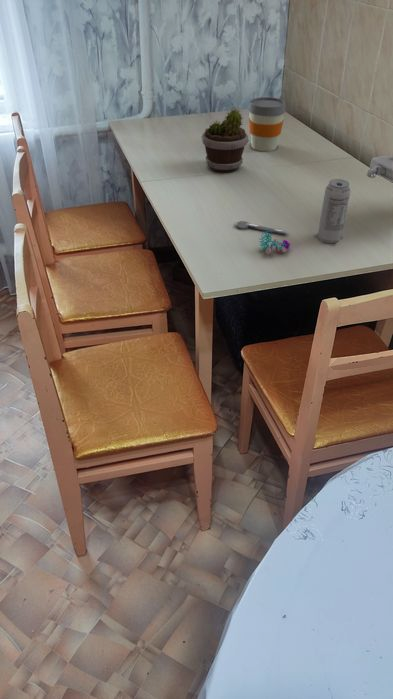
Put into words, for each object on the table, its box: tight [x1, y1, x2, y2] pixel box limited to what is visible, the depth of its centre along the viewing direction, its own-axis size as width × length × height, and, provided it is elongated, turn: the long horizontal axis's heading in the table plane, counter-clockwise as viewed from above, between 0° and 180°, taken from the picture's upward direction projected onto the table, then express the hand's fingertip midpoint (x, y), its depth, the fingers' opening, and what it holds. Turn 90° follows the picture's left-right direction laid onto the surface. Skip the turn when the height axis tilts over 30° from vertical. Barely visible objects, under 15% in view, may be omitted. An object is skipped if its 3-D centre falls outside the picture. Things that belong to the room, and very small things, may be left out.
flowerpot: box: [201, 104, 250, 173], centre depth 172 cm, size 14×15×20 cm
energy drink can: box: [317, 178, 351, 244], centre depth 136 cm, size 6×6×15 cm
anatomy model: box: [258, 231, 291, 256], centre depth 134 cm, size 5×8×7 cm
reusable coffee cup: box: [248, 96, 286, 152], centre depth 189 cm, size 13×13×15 cm
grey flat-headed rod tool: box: [235, 220, 287, 236], centre depth 144 cm, size 14×4×1 cm, turn 66°
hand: (381, 180), depth 138 cm, fingers open, 8 cm apart
